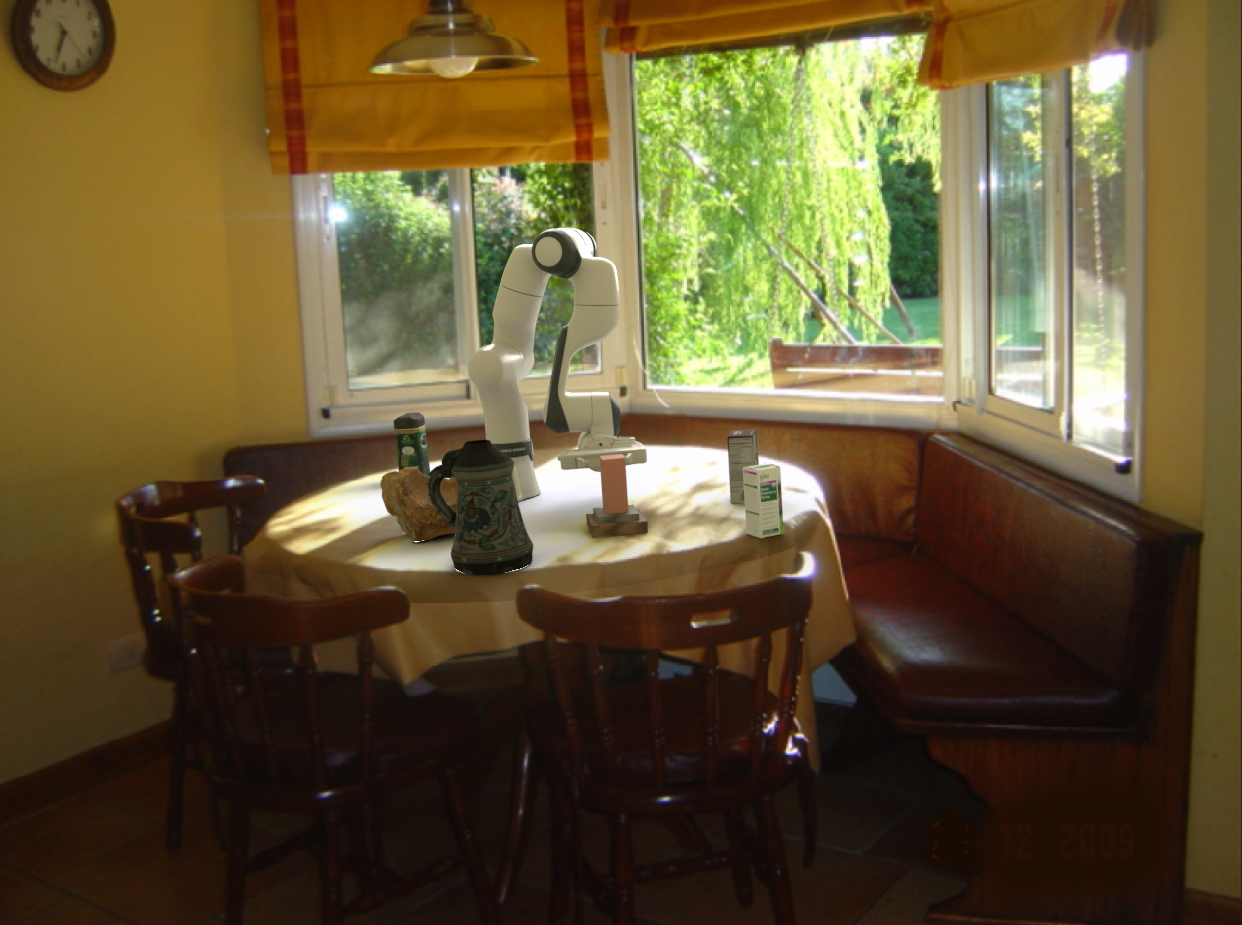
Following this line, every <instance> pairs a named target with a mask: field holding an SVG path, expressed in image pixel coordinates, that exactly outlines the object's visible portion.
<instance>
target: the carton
mask: <svg viewBox="0 0 1242 925" xmlns="http://www.w3.org/2000/svg"><path fill="white" fill-rule="evenodd" d="M600 471H601V472H600V483H601V498H602V507H603V510H604V512H605V514H615V513H626V512H629V511H628V505H629V500H628V499H629V498H628V484H627V483H628V482H627V465H626V463H625V457H624V456H623V455H622V454H617V455H605V456H600Z"/></svg>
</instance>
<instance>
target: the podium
mask: <svg viewBox="0 0 1242 925" xmlns="http://www.w3.org/2000/svg"><path fill="white" fill-rule="evenodd" d="M592 510H593V511H592V513H586V514H585V517H586V526H587V528H588V530H589V532H590V535H591V537H592V538H593V537H594V538H604V537H605V538H606V537H612V536H623V535H624V536H625V535H633V534H636V535H637V534H646V533H647V532H648V533H649V526H648V525H649V524H648V520H647V518H646V517H645V514H643V513H642V511H641V510H640V508H639V509H638V508H636V506H635V505H634V504H628V511H629V512H626V513H615V514H605V512H604V510H603V506H601V507H593V508H592Z"/></svg>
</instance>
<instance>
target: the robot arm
mask: <svg viewBox="0 0 1242 925" xmlns="http://www.w3.org/2000/svg"><path fill="white" fill-rule="evenodd" d="M597 256H598V245H597V242H596V241H595V239H594V237H593V236H592V235H591V234H590V233H588V231H586V230H584V229H581V228H575V227H568V226H567V227H566V226H564V227H559V228H549V229H546V230H544V231H542V232H540V233H539V235H537V236H536V237H535V239H534V241H533V243H531V244H530V243H529V244H528V243H526V244H525V243H523V244H520V245H518V246H516V247H514V248H513V250H512V251H511V253H510V255H509V258H508V260H507V262H506V264H505V267H504V270H503V273H502V276H501V280H500V283H499V286H498V290H497V294H496V296H495V297H496V298H495V301H494V305H493V309H492V318H493V336H492V337H493V338H492V341H491V344H486V345H483V346H481V347H480V348H479V349H477V350H476V351H475V352H474V353H473V354H472V356H471V357H469V360H468V362H467V363H468V364H467V373H468V377H469V379H470V381H471V382H473V384H474V385H475V387H476V390H477V394H478V397H479V400H480V403H481V408H482V412H483V419H484V430H485V440H490V441H491V444H492V445H494V446H495V447H496V448H497V449H498V450H500V451H502V452H503V453H505V454H506V455H508V456H509V457H510V458H511V459H512V460H513V461H514V470H513V472H512V478H513V483H514V487H515V491H516V496H517V499H518V502H520V501H522V500H525V499H529V498H533V497H536V496H539V495H540V493H541V492H542V491H541V489H540V486H539V483H538V480H537V476H536V472H535V468H534V462H533V461H534V445H533V440H532V438H531V436H530V423H529V420H530V419H529V410H528V407H527V405H526V403H525V402H524V400H523V396H522V394H521V390H520V385H519V382H521V381H522V380H524V379H525V378H526V377H527V376H528V375H529V374H530V372H531V371H532V370H533V368H534V365H535V355H534V345H535V335H536V327H537V322H538V318H539V315H540V310H541V307H542V303H543V298H544V295H545V291H546V288H547V284H548V283H549V279H550V277H551V276H555V277H557V278H560V279H563V280H570V281H571V283H572V286H573V294H574V295H573V312H572V316H571V318H570V320H569V321H568V323H567V324H565V325H564V326H562V327H561V329H560V332H559V334H558V337H557V342H556V347H555V350H554V351H555V352H554V356H553V361H552V363H553V364H552V369H551V374H550V379H549V380H550V381H549V385H548V390H547V396H546V397H545V398H546V399H545V401H544V405H543V410H542V418H543V423H544V426H545V427H546V428H547V429H548V430H550V431H551V432H552V433H554V434H556V435H557V434H558V435H561V434H570V433H580V435H579V436H578V440H577V448H575V449H572V448H571V449H566V450H562V451H561V452H560V454H559V455H557V461H558V462H559V461H560V469H561V470H563V471H568V470H570V471H571V470H580V469H583V470H584V469H590V470H591V471H593V472H595V473H601V471H600V456H605V455H617V454H622V455H623V456H624V457H625V463H626V466H631V465H639V464H646V463H647V461H648V455H647V452H648V451H647V447H646V446H645V445H644V444H643V443H641V442H640V441H637V440H636V437H635V436H618V434H619V433H620V431H621V420H622V419H621V408H620V404H619V402H618V400H617V398H616V397H615V396H614V395H613V394H612V393H611V392H609V391H590V392H588V391H587V392H569V391H567V390H566V389H567V382H568V377H569V373H570V366H571V362H572V359H573V357H574V355H575V354H577V353H578V352H579V351H581V350H583V349H585V348H587V347H589V346H592V345H595V344H598V343H600V342H602V341H604V340H606V339H608V338H609V337H610V336H611V335H613V334H614V333H615V331H616V329H617V328H618V327H619V321H620V315H621V314H620V313H621V312H620V311H621V310H620V309H621V305H620V304H621V303H620V300H621V299H620V296H621V295H620V284H619V278H618V277H619V276H618V271H617V268H616V265H615V264H614V263H613V262H612V261H610V260H609V259H607V258H605V257H599V256H598V257H597Z"/></svg>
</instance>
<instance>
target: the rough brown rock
mask: <svg viewBox="0 0 1242 925" xmlns="http://www.w3.org/2000/svg"><path fill="white" fill-rule="evenodd" d="M428 478H429V476H425V475H424V474H423V473H421V472H420V470H419V469H417V468H412V467H409V468H404V469H401V470H400V471H399V470H398V471H397V470H394V471H390V472H387V473H385V474H383V475H382V476H381V480H380V482H379V483H380V488H381V498H382V501H383V504H384V507H385V509H386V512H387V513H388V514H390V515H391V516H393V517H395V519H396V522H397V524H398V525H399V527H400V529H401V531H402V532H403V531H404V532H403V533H405V532H407V533H408V534H407V533H406V534H407V535H408V536H409V538H410V540H411V541H412V540H413V541H422V540H428V539H430V540H432V539H435V538H437V537H439V536H444V535H451V534H453V535H455V530H456V528H455V527H453V526H452V525H450V524H449V523H448V522H447V521H446V520H445V519H444V518H443V517H442V516H441V515H440V514H439V513H438V512H437V511H436V509H435V508H434V507H433V505H432V503H431V501H430V499H429V496H428V492H427V481H428ZM440 493H441V495H442V497H443V498H444V500H445V501H446V503H447V504H448V505H449V506H450V507H451V508H452V509H453V510H454V511H455V512H456V505H457V479H456V478H455V477H451V478H444V479H443V480H442V481H441V484H440ZM428 541H429V540H428Z"/></svg>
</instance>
